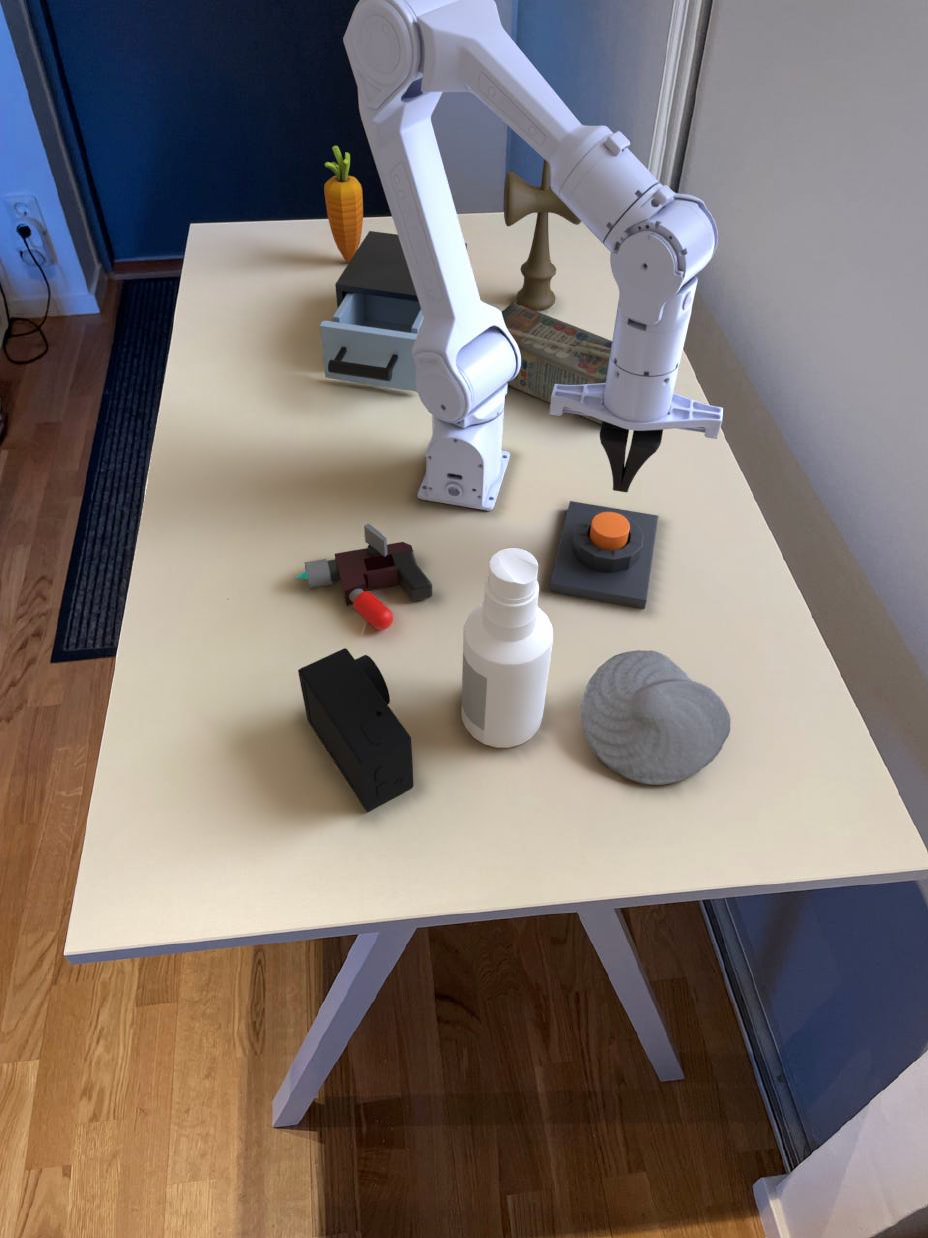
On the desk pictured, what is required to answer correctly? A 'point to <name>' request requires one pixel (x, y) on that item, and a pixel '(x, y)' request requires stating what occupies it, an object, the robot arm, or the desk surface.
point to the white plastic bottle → (506, 654)
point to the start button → (609, 531)
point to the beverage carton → (554, 353)
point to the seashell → (652, 719)
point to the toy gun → (371, 575)
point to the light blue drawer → (372, 341)
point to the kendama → (535, 234)
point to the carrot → (344, 206)
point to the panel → (604, 558)
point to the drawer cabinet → (378, 270)
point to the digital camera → (358, 726)
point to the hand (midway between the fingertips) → (621, 484)
